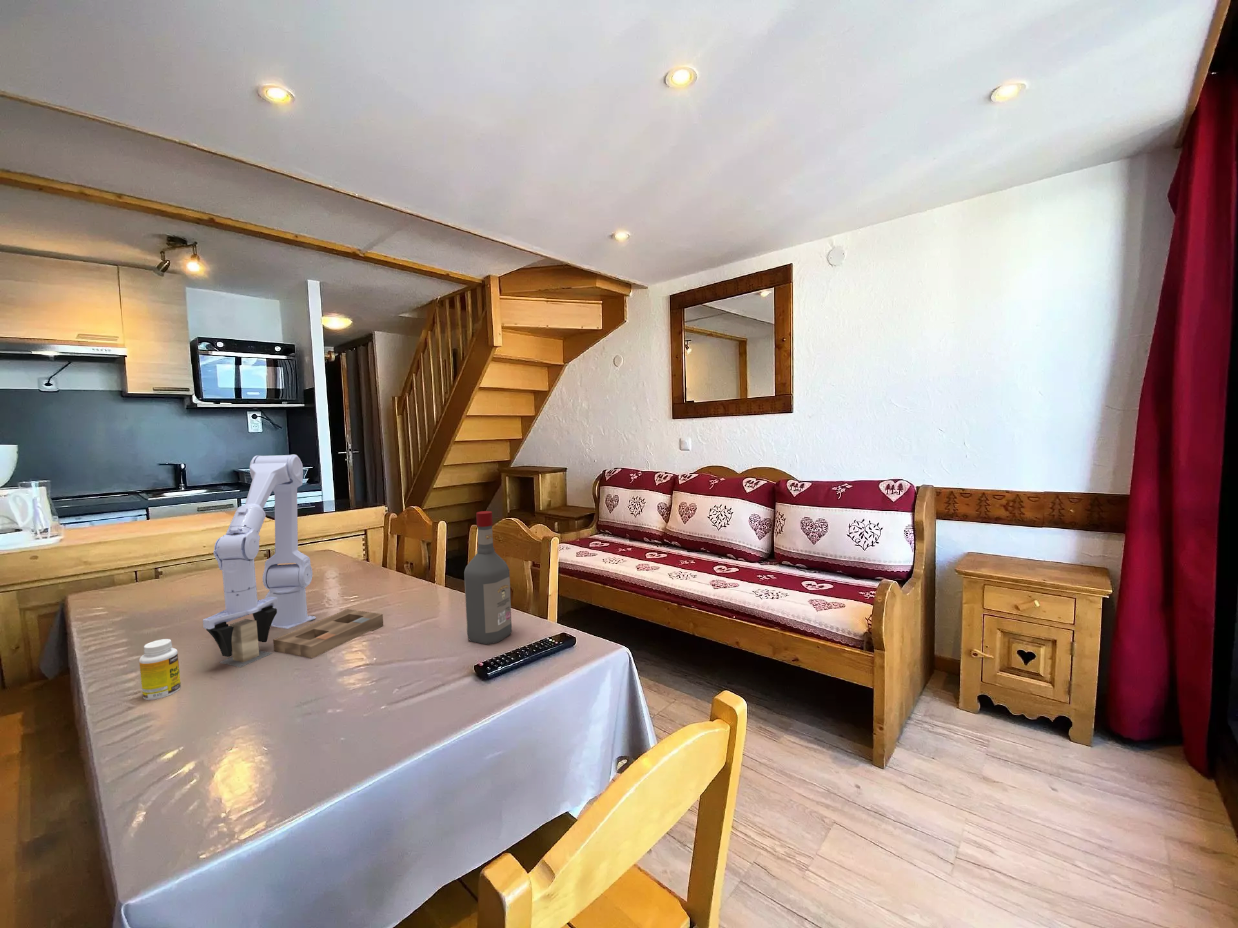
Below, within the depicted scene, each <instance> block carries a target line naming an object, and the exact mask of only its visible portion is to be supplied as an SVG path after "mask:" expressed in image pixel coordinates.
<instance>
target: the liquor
mask: <svg viewBox="0 0 1238 928" xmlns="http://www.w3.org/2000/svg"><path fill="white" fill-rule="evenodd" d="M475 513H476V516H475V517H476V527H477V544H478V545H477V549H476V550H477V552H476V554H475V555H474V556H473V558H471V560H470V561H469V562H468V564H467V565H466V566H465V568H464V572H463V576H464V595H465V596H464V597H465V598H464V599H465V616H466V634H467V639H468V640H469V642H473V643H478V644H481V645H482V644H483V645H490V644H491V645H492V644H498V643H499V642H501V641H502V640H504V639H506V638H507V637H509V636H510V635H511V634H512V631H513V626H512V605H511V580H510V579H511V578H510V568H509V566H508V564H507V562H506V561H505V560H504V558H502V557H501V556H500V555H499V554H498V553H497V552H496V550H495V548H494V538H493V537H494V536H493V524H494V523H493V522H494V521H493V511H490V510H484V511H483V510H482V511H477V512H475Z"/></svg>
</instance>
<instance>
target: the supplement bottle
mask: <svg viewBox="0 0 1238 928" xmlns="http://www.w3.org/2000/svg"><path fill="white" fill-rule="evenodd" d="M138 661H139V662H138V663H139V672H140V683H141V689H142V690H141V692H142V698H143V700H147V701H151V700H154V701H155V700H159V699H163V698H166V697H169V696H171V695H173V694H175V693H177V692H178V691H179V690H180V689H181V685H182V684H181V675H180V674H181V673H180V664H179V663H180V662H179V651H178V649H176V648H174V647H173V644H172V639H170V638H162V639H156V640H153V641H150V642H148V643H145V644H144V645H143V654H142V655H141V656H140V657H139V660H138Z"/></svg>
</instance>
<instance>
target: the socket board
mask: <svg viewBox="0 0 1238 928" xmlns="http://www.w3.org/2000/svg"><path fill="white" fill-rule="evenodd" d="M383 615H384V613H378V612H377V613H376V612H370V611H365V610H356V609H349V608H347V609H344V610H342V611H340V612H337V613H334V614H332V615H329V616H327V617H324V618H322V619H320V620H317V621H315V622H312V623H310V624H308V625H305V626H302V627H300V628H297V629H296V630H293V631H290V632H288V633H286V634H283V635H281V636H278V637H275V638H274V639H272V641H273V642H272V644H273V651H274V652H278V653H284V654H289V655H294V656H298V657H303V658H307V659H308V658H309V659H315V658H316V657H319V656H320V655H322V654H325V653H327V652H329V651H330V650H333V649H335V648H337V647H339V646H342V645H343V644H346V643H347V642H349V641H351V640H352V641H353V639H356V638H357V637H360V636H362V635H364V634H365V633H368V632H373V631H375V630H377V629H379V628H382V627H383V626H384V616H383Z"/></svg>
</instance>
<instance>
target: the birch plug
mask: <svg viewBox="0 0 1238 928" xmlns="http://www.w3.org/2000/svg"><path fill="white" fill-rule="evenodd" d="M229 626H232V627H234V628H233V632H232V657H233V660H236V661H240V662H245V661H247V660H250V659H252V658H254V657H257V656H259V650H260V648H259V641H258V634H257V622H256V620H254V619H248V618H244V619H242V620H239V621H237V622H233V623H230V624H229Z"/></svg>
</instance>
